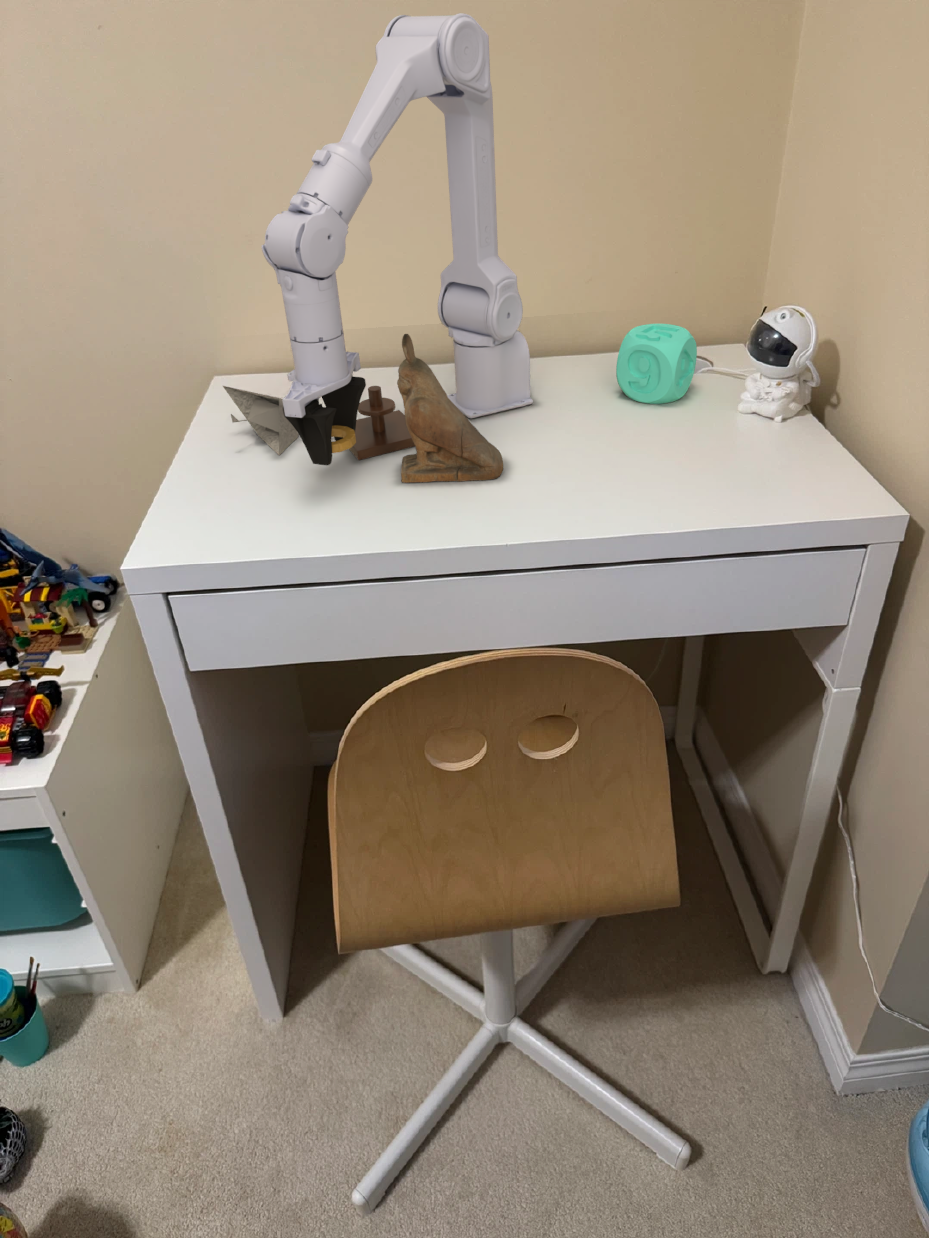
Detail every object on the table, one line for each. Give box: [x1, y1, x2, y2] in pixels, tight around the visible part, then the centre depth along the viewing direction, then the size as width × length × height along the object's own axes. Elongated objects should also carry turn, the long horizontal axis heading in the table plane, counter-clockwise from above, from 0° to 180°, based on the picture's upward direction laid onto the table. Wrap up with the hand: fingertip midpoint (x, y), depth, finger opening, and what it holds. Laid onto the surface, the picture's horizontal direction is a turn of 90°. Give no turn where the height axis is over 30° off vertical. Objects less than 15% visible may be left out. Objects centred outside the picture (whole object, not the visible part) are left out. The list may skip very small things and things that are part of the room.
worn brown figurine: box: [396, 333, 504, 484], centre depth 100 cm, size 12×6×18 cm, turn 87°
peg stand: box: [348, 385, 415, 461], centre depth 111 cm, size 9×9×7 cm
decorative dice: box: [615, 323, 698, 405], centre depth 118 cm, size 8×8×8 cm
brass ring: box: [331, 425, 356, 454], centre depth 102 cm, size 6×6×1 cm
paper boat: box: [222, 385, 300, 456], centre depth 112 cm, size 12×6×9 cm
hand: (333, 452), depth 103 cm, fingers closed on brass ring, 5 cm apart
